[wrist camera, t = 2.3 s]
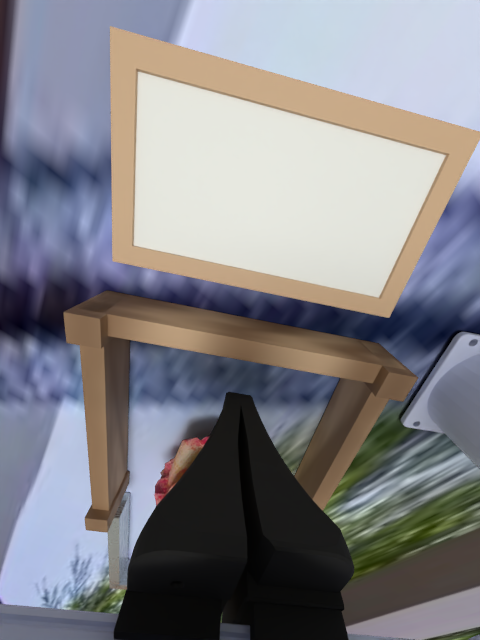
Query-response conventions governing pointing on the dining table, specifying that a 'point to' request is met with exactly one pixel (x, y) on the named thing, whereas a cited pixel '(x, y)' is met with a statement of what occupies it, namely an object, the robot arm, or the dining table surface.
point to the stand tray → (119, 545)
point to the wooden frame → (233, 342)
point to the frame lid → (271, 178)
